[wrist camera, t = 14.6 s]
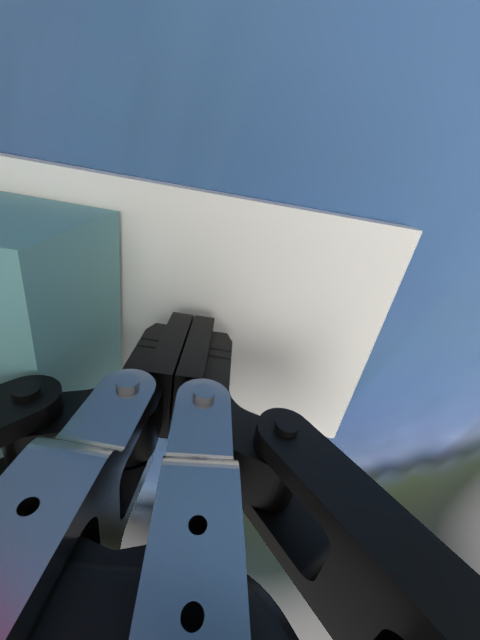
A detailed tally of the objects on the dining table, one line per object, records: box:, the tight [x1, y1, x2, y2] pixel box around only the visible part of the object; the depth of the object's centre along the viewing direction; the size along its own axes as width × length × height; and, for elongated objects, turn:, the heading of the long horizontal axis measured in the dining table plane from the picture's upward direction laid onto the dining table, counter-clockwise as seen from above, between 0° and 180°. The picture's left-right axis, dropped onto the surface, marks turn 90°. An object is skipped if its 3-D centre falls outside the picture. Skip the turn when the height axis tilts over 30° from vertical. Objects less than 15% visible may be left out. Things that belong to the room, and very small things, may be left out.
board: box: [0, 153, 423, 438], centre depth 12 cm, size 29×10×1 cm, turn 81°
